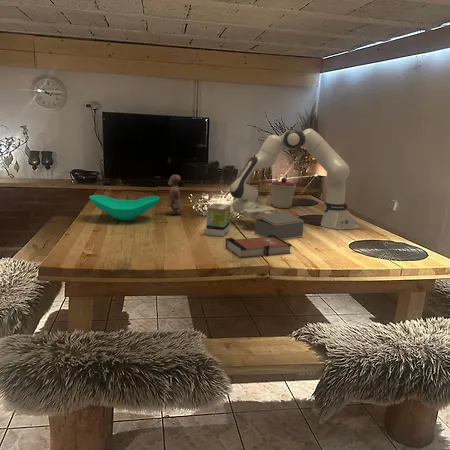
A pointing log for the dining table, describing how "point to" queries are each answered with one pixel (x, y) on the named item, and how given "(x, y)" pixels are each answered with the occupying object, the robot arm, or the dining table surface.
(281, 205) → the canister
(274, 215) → the lid
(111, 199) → the table top decor
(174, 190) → the clay figurine
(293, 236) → the box
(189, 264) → the dining table surface
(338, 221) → the robot arm
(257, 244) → the book
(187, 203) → the dining table surface
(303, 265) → the dining table surface
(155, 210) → the dining table surface
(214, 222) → the tea box
